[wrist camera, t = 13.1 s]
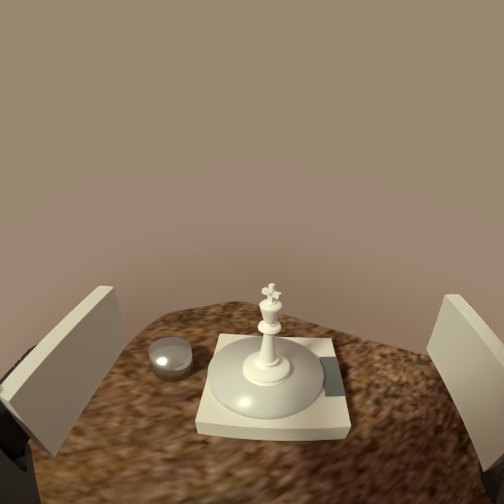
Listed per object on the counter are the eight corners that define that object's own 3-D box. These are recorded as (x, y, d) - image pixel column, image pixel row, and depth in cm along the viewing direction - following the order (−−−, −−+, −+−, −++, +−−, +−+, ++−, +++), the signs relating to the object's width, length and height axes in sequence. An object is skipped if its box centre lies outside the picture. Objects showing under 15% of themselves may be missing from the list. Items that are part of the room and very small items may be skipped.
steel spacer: (197, 357, 34) (195, 339, 33) (188, 385, 29) (185, 366, 28) (160, 352, 34) (156, 334, 33) (147, 378, 29) (142, 360, 28)
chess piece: (261, 349, 31) (264, 268, 27) (299, 366, 28) (310, 282, 25) (232, 372, 27) (231, 286, 24) (273, 393, 24) (281, 305, 21)
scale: (328, 351, 35) (332, 333, 34) (345, 438, 22) (353, 421, 21) (220, 346, 36) (219, 328, 35) (197, 433, 23) (194, 416, 22)
